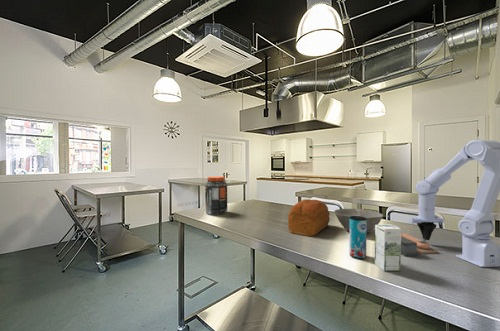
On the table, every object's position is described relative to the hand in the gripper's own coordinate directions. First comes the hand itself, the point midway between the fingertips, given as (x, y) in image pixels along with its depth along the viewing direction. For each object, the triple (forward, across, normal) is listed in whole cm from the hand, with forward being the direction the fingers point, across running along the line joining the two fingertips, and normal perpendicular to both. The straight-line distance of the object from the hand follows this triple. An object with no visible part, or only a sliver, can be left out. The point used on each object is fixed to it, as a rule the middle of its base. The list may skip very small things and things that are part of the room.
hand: (426, 239), depth 102 cm
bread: (+3, +43, -28) cm, 51 cm away
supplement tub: (+3, +97, -72) cm, 121 cm away
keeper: (+2, +16, +8) cm, 18 cm away
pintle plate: (+2, +7, +6) cm, 9 cm away
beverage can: (+2, +37, +10) cm, 38 cm away
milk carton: (+2, +32, +20) cm, 38 cm away
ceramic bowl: (+3, +20, -21) cm, 29 cm away
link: (+1, +7, +1) cm, 7 cm away
